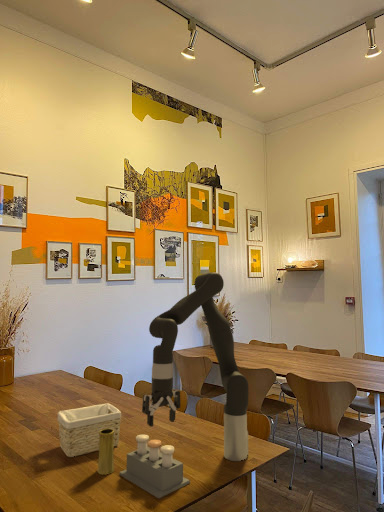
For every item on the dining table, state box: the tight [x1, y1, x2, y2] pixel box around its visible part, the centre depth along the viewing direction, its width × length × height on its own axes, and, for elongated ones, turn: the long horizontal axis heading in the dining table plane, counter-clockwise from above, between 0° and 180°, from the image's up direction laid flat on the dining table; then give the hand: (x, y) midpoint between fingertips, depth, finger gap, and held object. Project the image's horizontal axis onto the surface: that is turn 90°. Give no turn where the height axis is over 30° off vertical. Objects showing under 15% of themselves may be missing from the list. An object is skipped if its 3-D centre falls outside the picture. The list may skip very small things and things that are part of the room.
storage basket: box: [57, 402, 122, 458], centre depth 162 cm, size 24×16×15 cm
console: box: [119, 445, 191, 499], centre depth 134 cm, size 14×22×7 cm, turn 45°
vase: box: [97, 429, 115, 476], centre depth 140 cm, size 6×6×14 cm
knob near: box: [159, 444, 175, 469], centre depth 130 cm, size 5×5×8 cm
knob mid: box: [147, 439, 162, 462], centre depth 135 cm, size 5×5×8 cm
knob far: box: [135, 434, 150, 456], centre depth 140 cm, size 5×5×8 cm
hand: (161, 423), depth 131 cm, fingers open, 8 cm apart
